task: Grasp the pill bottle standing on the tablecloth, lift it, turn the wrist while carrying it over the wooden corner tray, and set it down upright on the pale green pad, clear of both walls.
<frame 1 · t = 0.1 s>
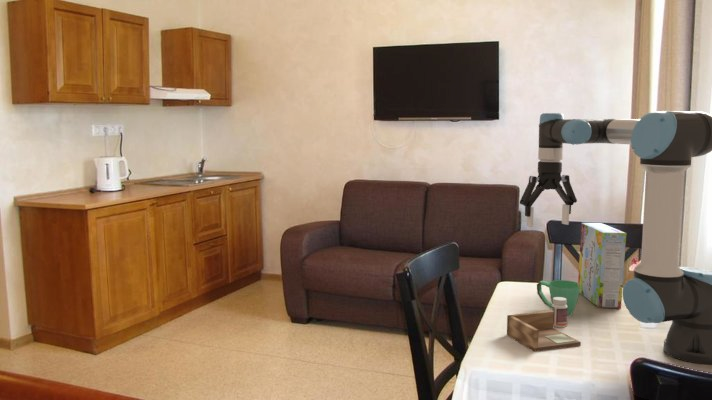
hand: (547, 225, 211), 28 cm above the table, fingers open, 13 cm apart
snack box: (598, 300, 223), on the table
pill bottle: (558, 325, 196), on the table
wooden corner tray: (542, 340, 183), on the table
mug: (556, 313, 209), on the table
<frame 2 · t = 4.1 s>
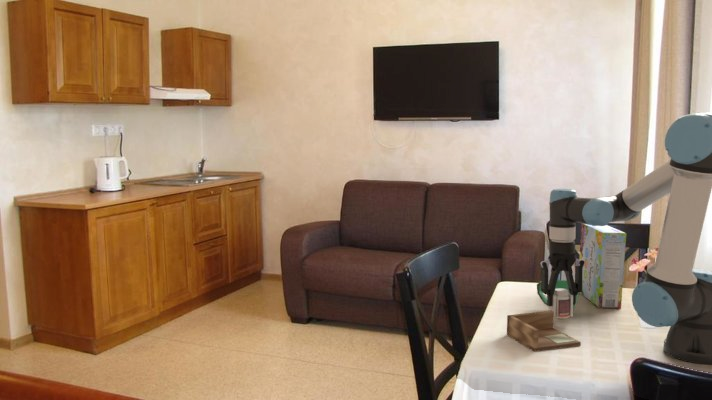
hand: (561, 315, 195), 3 cm above the table, fingers closed on pill bottle, 5 cm apart
pill bottle: (561, 317, 195), point 3 cm above the table, touching gripper
everything else where it was.
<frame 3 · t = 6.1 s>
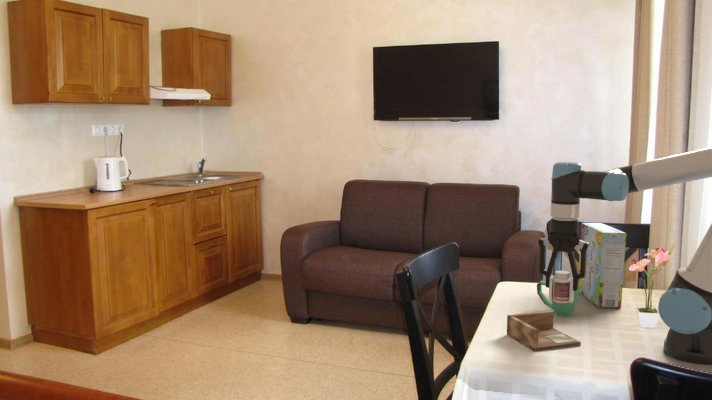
hand: (561, 300, 180), 12 cm above the table, fingers closed on pill bottle, 5 cm apart
pill bottle: (561, 301, 180), point 12 cm above the table, touching gripper
everything else where it was.
when the fingers open (2 cm above the table, at t = 8.2 s): pill bottle stays where it is, resting on wooden corner tray.
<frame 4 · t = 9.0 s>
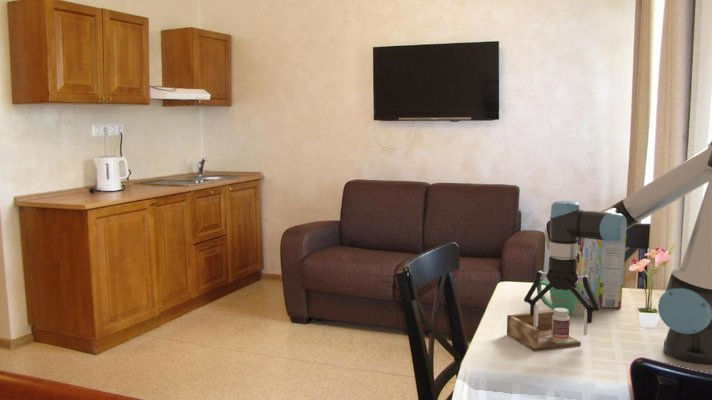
hand: (560, 330, 181), 4 cm above the table, fingers open, 13 cm apart
pill bottle: (560, 338, 181), point 1 cm above the table, touching wooden corner tray
everything else where it was.
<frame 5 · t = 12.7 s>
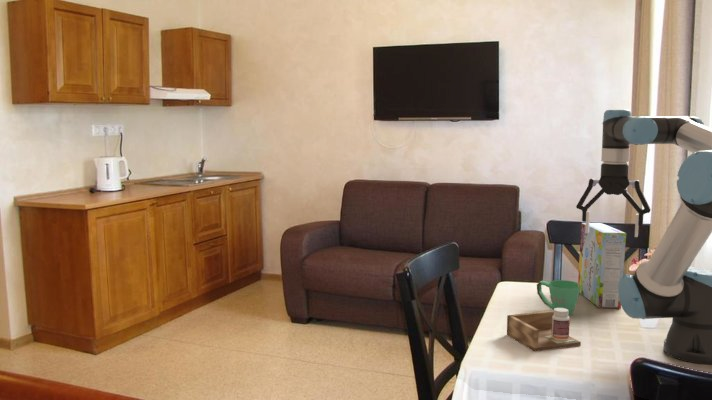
hand: (611, 234, 189), 29 cm above the table, fingers open, 13 cm apart
nothing on the table moved.
at the end: pill bottle 0.1 cm from the target spot on the wooden corner tray, point 0.9 cm above the wooden corner tray's base; pill bottle tilted 0°; the gripper is holding nothing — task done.
